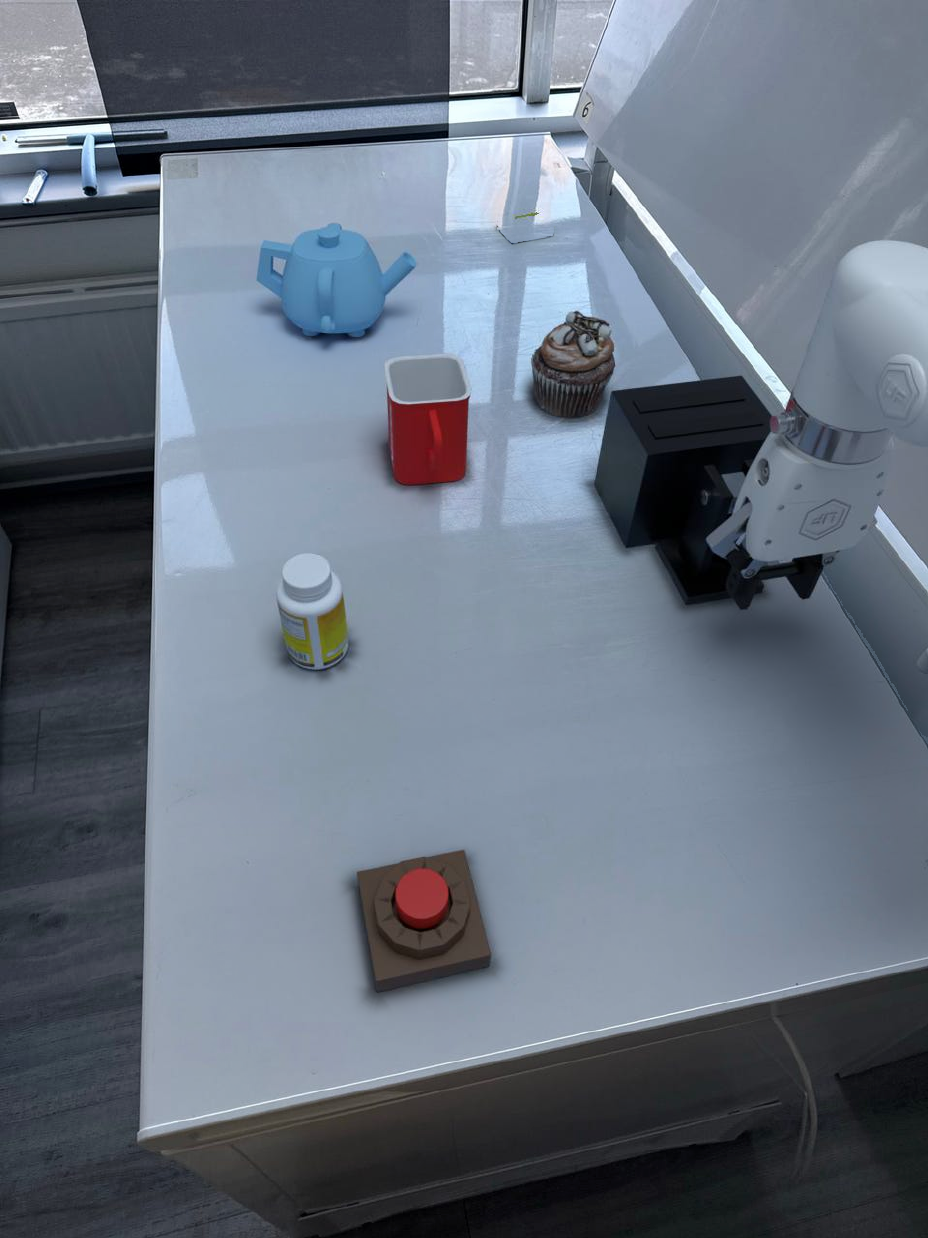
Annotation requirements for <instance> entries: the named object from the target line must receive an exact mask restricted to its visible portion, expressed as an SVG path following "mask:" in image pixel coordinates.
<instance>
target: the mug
mask: <svg viewBox="0 0 928 1238" xmlns="http://www.w3.org/2000/svg"><path fill="white" fill-rule="evenodd" d="M383 364H384V365H383V370H384V376H385V380H386V402H387V425H388V426H387V427H388V450H389V455H390V460H391V461H390V462H391V467H392V472H393V477H394V479H395V480H396V482H398V483H400V484H402V485H407V486H415V485H426V484H439V483H449V482H456V481H460V480H462V479H463V478H464V477H465V476H466V472H467V451H468V429H469V428H468V427H469V426H468V425H469V404H470V398H471V395H472V386H471V383H470V379H469V376H468V373H467V370H466V369H467V368H466V365H465V362H464V360H463V359H462V358H461V357H460V356H459V355H456V354H454V353H434V354H417V355H403V356H401V355H400V356H394V357H390V358H388V359H387V360H386V361H384V363H383Z"/></svg>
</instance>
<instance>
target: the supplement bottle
mask: <svg viewBox="0 0 928 1238" xmlns="http://www.w3.org/2000/svg"><path fill="white" fill-rule="evenodd" d="M281 570H282V571H281V576H282V577H281V578H280V580H279V581H278V583H277V584H276V585H277V586H276V589H275V599H276V603H277V609H278V614H279V617H280V623H281V628H282V633H283V637H284V643H285V649H286V652H287V654H288V656H289V658H290V659H291V661H293V662H294V663H295V664H296V665H298V666H299V667H301V668H304V669H308V670H323V669H327V668H330V667H332V666H334V665H336V664H337V663H339V662H340V661H341V660H342V659H343V658H344V657H345V655H346V653H347V651H348V648H349V634H348V624H347V616H346V615H347V614H346V606H345V600H344V598H345V597H344V589H343V584H342V581H341V579H340V577H339V576H338V575H337V574H336V572H334V571H332V570H331V565H330V563H329V561H328V560H327V559H326V558H324V557H323V556H321V555H319V554H316V553H299V554H297V555H294V556H292V557H291V558H289V559H288V560H286V562H285V563H284V565H283V566H282V569H281Z"/></svg>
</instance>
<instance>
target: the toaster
mask: <svg viewBox="0 0 928 1238" xmlns="http://www.w3.org/2000/svg"><path fill="white" fill-rule="evenodd" d="M772 416H773V415H772V414H771V412H770V410H769V409H768V408H767V407H766V405H765V404H764V403H763V401H762V400H761V399H760V397H759V396H758V395H757V394H756V392H755V391H754V389H753V388H752V387H751V385H750V383H748V382H747V380H746V379H745V377H744V376H743V375H734V376H725V377H716V378H709V379H708V378H707V379H700V380H692V381H691V380H690V381H682V382H674V383H666V384H658V385H649V386H648V385H647V386H641V387H633V388H624V389H615V390H611V392H610V397H609V402H608V407H607V412H606V417H605V423H604V429H603V434H602V439H601V444H600V450H599V456H598V460H597V466H596V471H595V478H594V483H593V485H594V487H595V489H596V491H597V493H598V495H599V497H600V499H601V502H602V503H603V506H604V507H605V509H606V511H607V513H608V515H609V517H610V519H611V521H612V523H613V525H614V527H615V529H616V531H617V532H618V535H619V538H620V539H621V541H622V543H623V545H624V547H625V548H633V547H634V548H635V547H640V546H646V545H654V544H657V541H658V540H664V539H671V538H678V537H682V536H683V533H684V530H685V526H686V523H687V520H688V516H689V513H690V510H691V506H692V503H693V500H694V496H695V493H696V490H697V486H698V483H699V480H700V476H701V473H702V470H703V466H708V465H714V466H715V468H716V470H717V471H718V473H719V474H720V476H721V475H723V474H730V473H737V472H740V471H741V468H742V465H743V463H744V461H745V460H752V459H754V460H755V458H756V456H757V454H758V452H759V450H760V449H761V447H762V445H763V443H764V442H765V440H766V438H767V437H768V435H769V434H770V432H771V429H770V420H771V417H772Z"/></svg>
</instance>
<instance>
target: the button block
mask: <svg viewBox="0 0 928 1238" xmlns="http://www.w3.org/2000/svg"><path fill="white" fill-rule="evenodd" d="M420 868H424V869H430V870H433V871H435V872H437V873H438V874H439V875H441V876H442V878H443V879H444V880H445V882H446V884H447V887H448V893H449V895H448V908H447V912H446V914H445V916H444V917H443V919H442V920H441V921H440V922H439V923H438V924H436V925H434V926H432V927H429V928H425V929H419V928H414V927H411V926H409V925H407V924H406V923H405V922H403V921H402V919H401V918H400V917H399V915H398V912H397V909H396V898H395V892H396V887H397V884H398V882H399V881H400V879H401V878H402V877H403V876H404V875H405V874H406V873H408V872H410V871H412V870H415V869H420ZM471 875H472V874H471V871H470V867H469V863H468V859H467V856H466V852H465V849H461V850H456V851H450V852H447V853H446V852H445V853H441V854H437V855H433V856H420V857H415V858H410V859H406V860H401V861H400V862H398V863H393V864H388V865H383V866H379V867H373V868H369V869H365V870H360V871H359V870H358V871H356V877H357V884H358V891H359V895H360V903H361V908H362V914H363V920H364V925H365V931H366V937H367V942H368V948H369V954H370V961H371V965H372V966H371V967H372V972H373V978H374V984H375V989H376V993H381V992H385V991H389V990H394V989H397V988H403V987H406V986H410V985H411V986H412V985H415V984H419V983H424V982H428V981H432V980H436V979H441V978H446V977H449V976H453V975H458V974H462V973H463V974H464V973H466V972H471V971H475V970H479V969H484V968H489V967H490V965H491V958H492V953H491V949H490V944H489V941H488V937H487V934H486V929H485V926H484V921H483V917H482V914H481V910H480V906H479V902H478V899H477V894H476V891H475V887H474V883H473V879H472V876H471Z"/></svg>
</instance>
